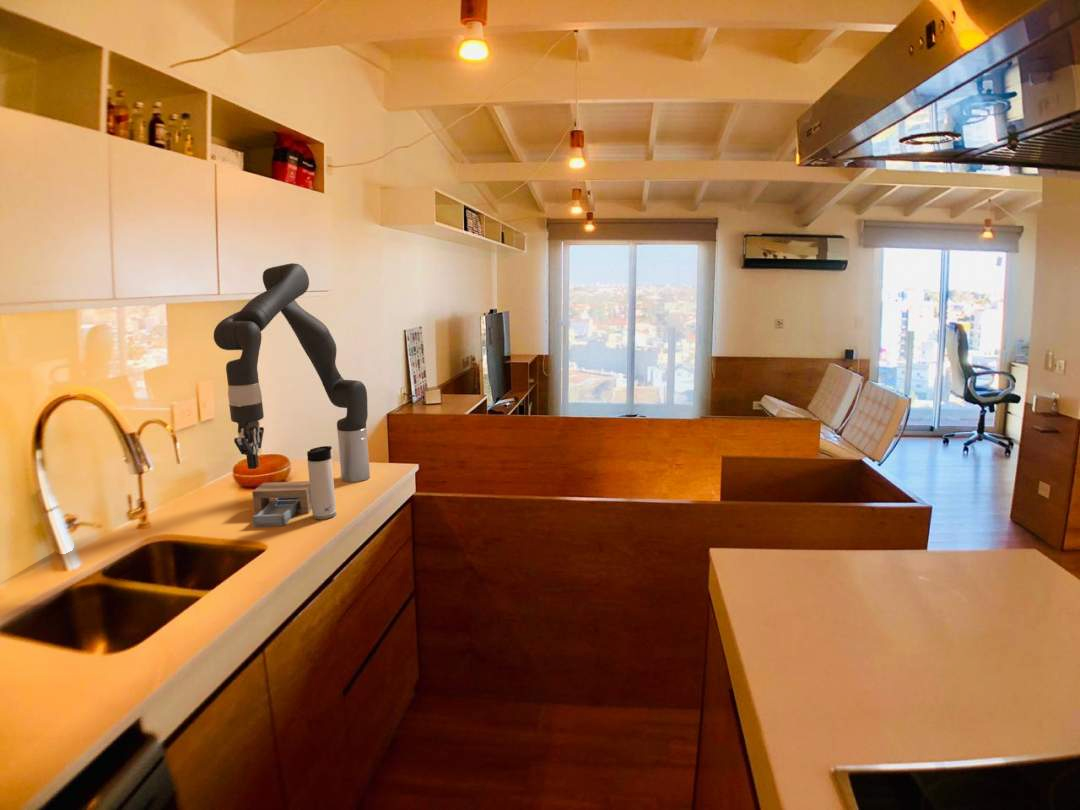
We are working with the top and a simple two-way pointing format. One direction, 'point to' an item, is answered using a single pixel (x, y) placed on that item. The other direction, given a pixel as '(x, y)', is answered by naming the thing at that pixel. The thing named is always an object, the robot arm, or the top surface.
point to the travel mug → (321, 482)
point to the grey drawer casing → (283, 494)
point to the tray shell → (277, 513)
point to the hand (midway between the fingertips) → (253, 467)
